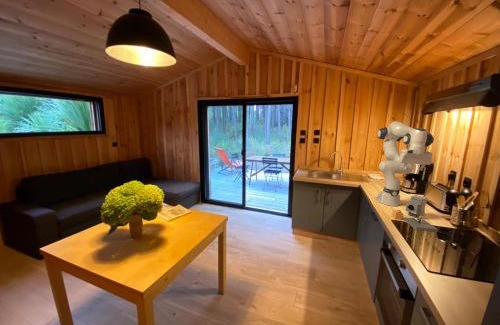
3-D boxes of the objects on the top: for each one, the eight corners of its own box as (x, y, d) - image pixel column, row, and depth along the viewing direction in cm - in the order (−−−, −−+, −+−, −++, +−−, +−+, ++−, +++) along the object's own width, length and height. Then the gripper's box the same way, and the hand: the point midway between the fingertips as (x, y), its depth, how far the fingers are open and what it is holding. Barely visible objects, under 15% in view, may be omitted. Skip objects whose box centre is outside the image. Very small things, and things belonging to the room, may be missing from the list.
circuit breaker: (403, 215, 171) (406, 197, 168) (413, 212, 177) (416, 195, 175) (414, 219, 164) (417, 200, 162) (423, 216, 171) (427, 198, 168)
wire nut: (391, 216, 168) (392, 208, 167) (398, 217, 167) (400, 209, 166) (395, 219, 163) (396, 211, 162) (402, 219, 162) (403, 212, 161)
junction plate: (403, 219, 163) (404, 210, 161) (422, 221, 161) (424, 212, 160) (416, 229, 147) (418, 220, 146) (437, 232, 145) (439, 222, 144)
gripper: (429, 151, 159) (426, 169, 161) (399, 149, 162) (396, 168, 164) (435, 152, 153) (431, 171, 155) (404, 150, 155) (400, 169, 158)
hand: (413, 169), depth 160 cm, fingers open, 8 cm apart
